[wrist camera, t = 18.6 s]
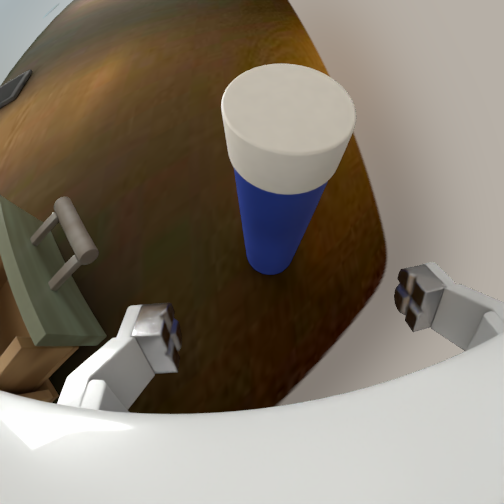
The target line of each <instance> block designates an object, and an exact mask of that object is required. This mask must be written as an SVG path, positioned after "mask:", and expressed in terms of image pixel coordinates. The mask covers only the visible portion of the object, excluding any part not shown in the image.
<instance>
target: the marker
mask: <svg viewBox="0 0 504 504" xmlns="http://www.w3.org/2000/svg"><path fill="white" fill-rule="evenodd" d="M221 110H222V117H223V123H224V129H225V136H226V142H227V148H228V154H229V158H230V161H231V163H232V165H233V167H234V172H235V179H236V186H237V193H238V199H239V206H240V213H241V220H242V227H243V233H244V240H245V247H246V254H247V259H248V261H249V263H250V265H251V266H252V267H253V268H254V269H255V270H256V271H258V272H260V273H262V274H266V275H274V274H278V273H280V272H282V271H284V270H285V269H286V268H287V267H288V266H289V264H290V263H291V261H292V259H293V256H294V254H295V252H296V250H297V248H298V246H299V244H300V241H301V239H302V237H303V235H304V233H305V231H306V228H307V226H308V224H309V222H310V220H311V218H312V215H313V213H314V211H315V209H316V206H317V204H318V202H319V200H320V197H321V195H322V193H323V191H324V188H325V186H326V184H327V182H328V180H329V179H330V178H331V177H332V175H333V174H334V173H335V171H336V169H337V167H338V165H339V162H340V160H341V158H342V156H343V153H344V151H345V149H346V147H347V144H348V142H349V140H350V137H351V135H352V133H353V131H354V128H355V124H356V111H355V106H354V103H353V101H352V99H351V97H350V96H349V94H348V93H347V92H346V90H345V89H344V88H343V87H342V86H341V85H340V84H339V83H338V82H336V81H335V80H333V79H332V78H331V77H329V76H327V75H325V74H323V73H321V72H319V71H317V70H314V69H312V68H308V67H305V66H300V65H294V64H270V65H264V66H259V67H256V68H253V69H251V70H248V71H246V72H244V73H242V74H241V75H239V76H238V77H237V78H235V79H234V80H233V81H232V82H231V83H230V84H229V86H228V87H227V88H226V90H225V92H224V94H223V98H222V102H221Z"/></svg>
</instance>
